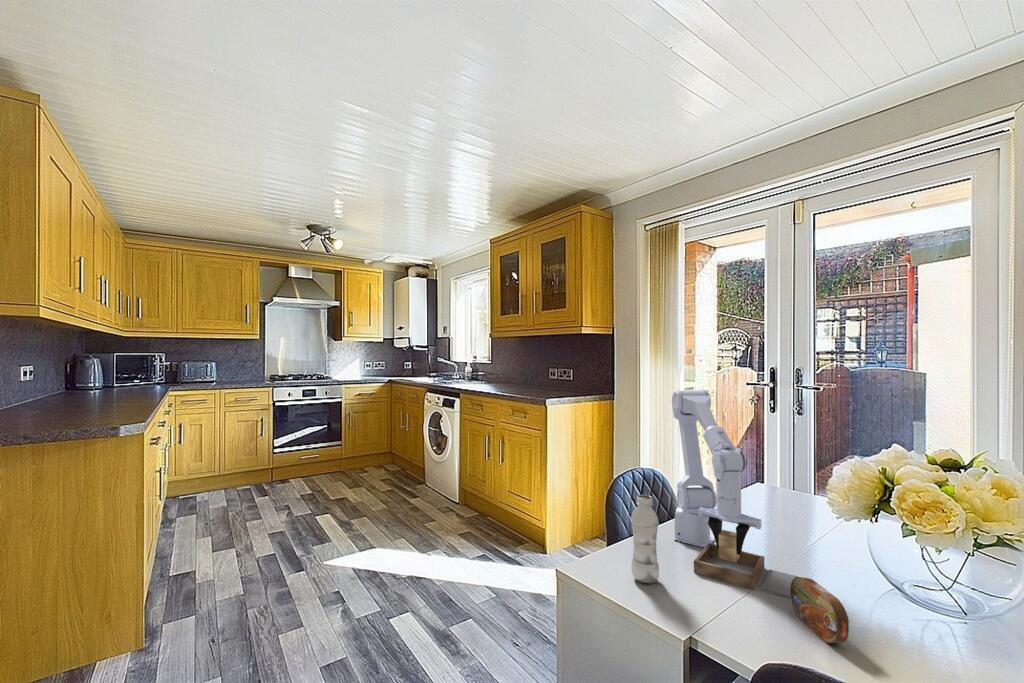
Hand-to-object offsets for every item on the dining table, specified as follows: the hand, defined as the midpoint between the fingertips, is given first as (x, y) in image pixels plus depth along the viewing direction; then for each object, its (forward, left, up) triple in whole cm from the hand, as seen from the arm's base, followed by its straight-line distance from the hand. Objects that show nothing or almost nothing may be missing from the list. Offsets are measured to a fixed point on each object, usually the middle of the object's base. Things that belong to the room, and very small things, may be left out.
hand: (729, 550), depth 117 cm
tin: (+20, -16, -5) cm, 26 cm away
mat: (+12, 0, -5) cm, 13 cm away
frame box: (0, 0, -5) cm, 5 cm away
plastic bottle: (-15, -18, -5) cm, 24 cm away
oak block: (0, 0, -2) cm, 2 cm away
